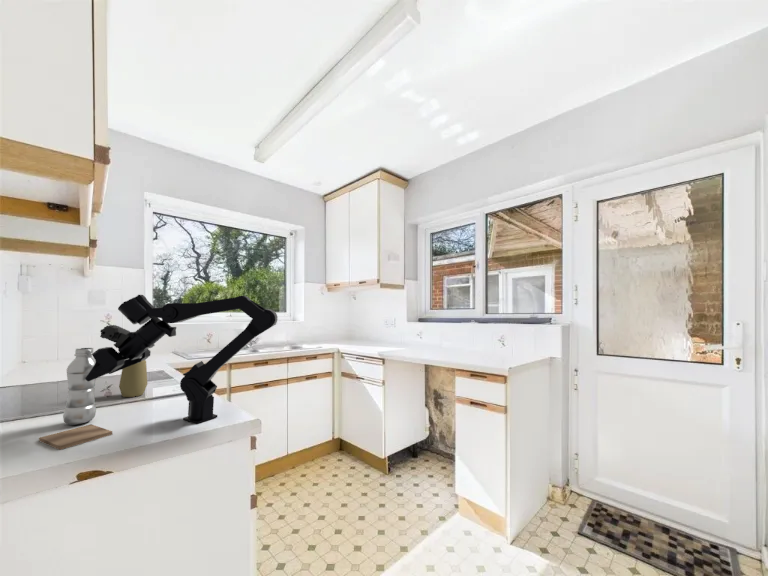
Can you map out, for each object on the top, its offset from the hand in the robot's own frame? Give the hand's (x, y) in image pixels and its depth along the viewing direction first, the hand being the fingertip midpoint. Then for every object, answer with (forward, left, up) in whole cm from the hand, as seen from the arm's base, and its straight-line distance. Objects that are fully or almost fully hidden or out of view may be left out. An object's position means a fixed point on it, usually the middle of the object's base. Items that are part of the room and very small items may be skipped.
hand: (98, 376), depth 91 cm
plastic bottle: (+3, +2, -13) cm, 13 cm away
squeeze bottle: (+20, -20, -13) cm, 31 cm away
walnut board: (-8, +7, -12) cm, 17 cm away
